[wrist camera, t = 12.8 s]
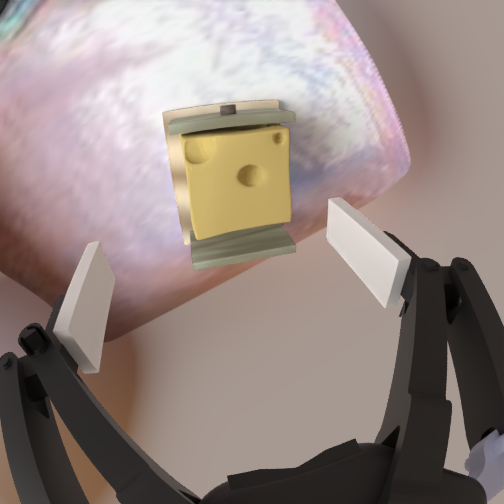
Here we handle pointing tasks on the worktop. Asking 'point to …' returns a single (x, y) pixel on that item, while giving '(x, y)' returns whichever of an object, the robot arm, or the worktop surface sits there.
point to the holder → (206, 250)
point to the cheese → (237, 177)
